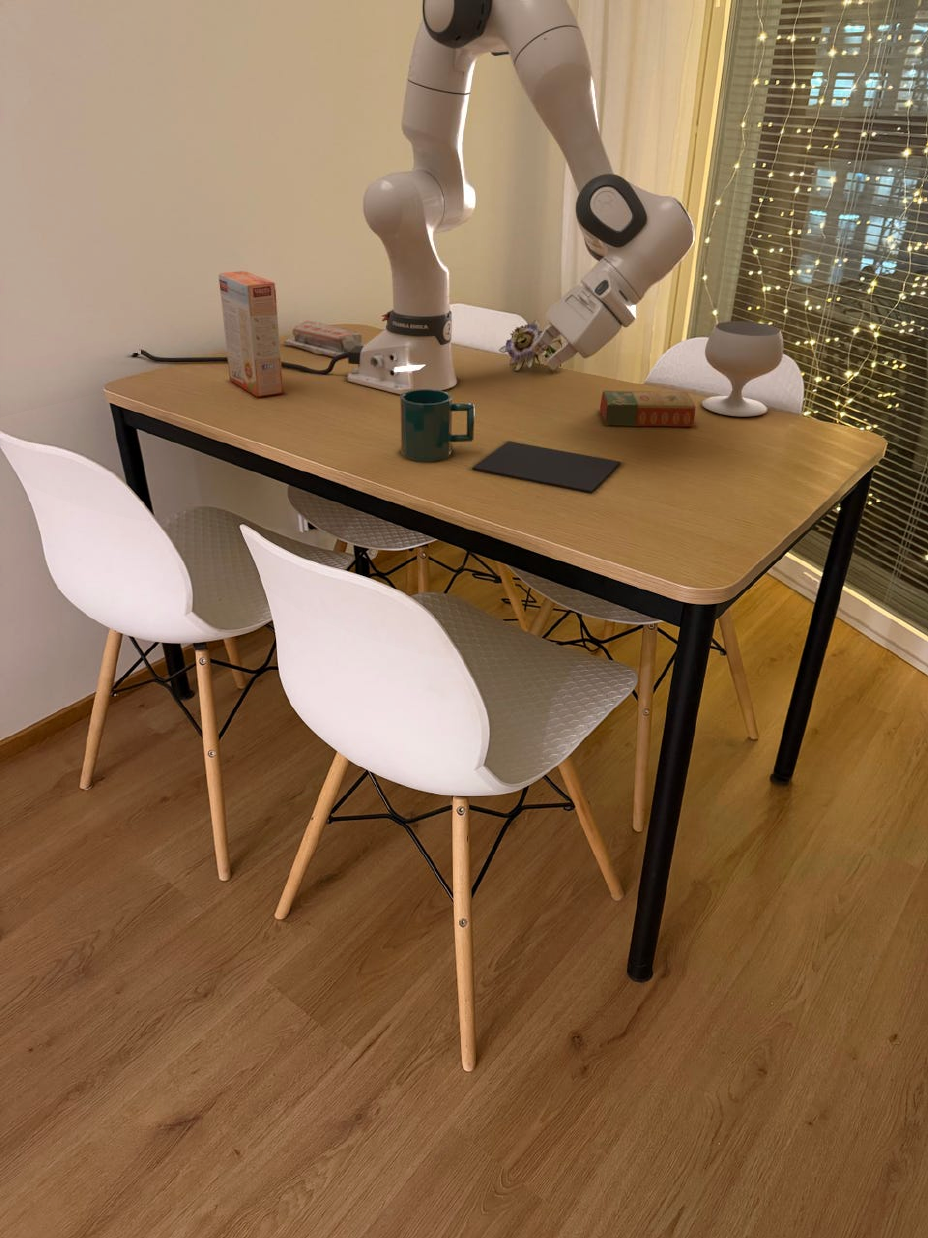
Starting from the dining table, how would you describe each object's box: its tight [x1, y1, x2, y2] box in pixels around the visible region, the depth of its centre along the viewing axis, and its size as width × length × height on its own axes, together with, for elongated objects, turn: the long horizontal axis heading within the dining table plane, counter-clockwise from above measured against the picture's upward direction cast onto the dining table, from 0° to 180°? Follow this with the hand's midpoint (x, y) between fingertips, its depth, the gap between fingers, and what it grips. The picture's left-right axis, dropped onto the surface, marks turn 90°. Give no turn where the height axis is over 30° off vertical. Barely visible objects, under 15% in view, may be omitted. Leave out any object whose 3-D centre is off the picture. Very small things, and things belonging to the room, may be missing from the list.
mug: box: [399, 389, 475, 463], centre depth 149 cm, size 12×8×10 cm
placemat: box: [472, 440, 621, 494], centre depth 146 cm, size 20×14×1 cm
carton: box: [599, 390, 697, 428], centre depth 167 cm, size 8×16×4 cm, turn 88°
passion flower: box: [498, 318, 564, 373], centre depth 195 cm, size 11×11×12 cm
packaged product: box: [283, 320, 367, 358], centre depth 206 cm, size 18×5×10 cm
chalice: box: [701, 320, 784, 417], centre depth 171 cm, size 14×14×15 cm
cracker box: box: [218, 270, 284, 398], centre depth 175 cm, size 14×6×21 cm, turn 34°
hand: (542, 358), depth 145 cm, fingers open, 8 cm apart
